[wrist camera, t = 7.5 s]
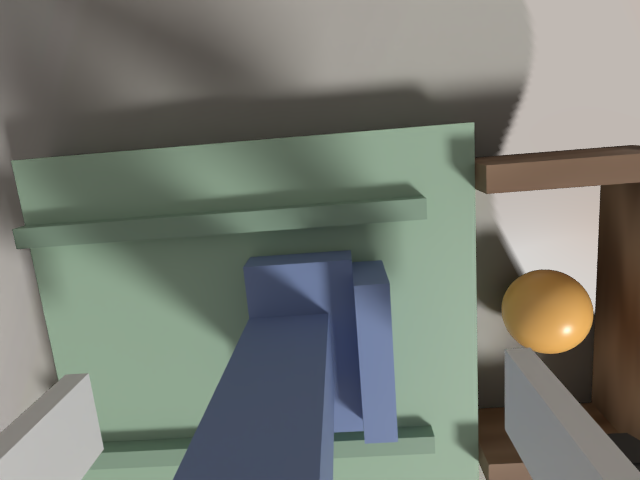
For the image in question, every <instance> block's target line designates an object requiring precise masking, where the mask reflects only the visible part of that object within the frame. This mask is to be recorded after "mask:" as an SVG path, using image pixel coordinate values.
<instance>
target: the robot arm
mask: <svg viewBox="0 0 640 480" xmlns="http://www.w3.org/2000/svg"><path fill="white" fill-rule="evenodd" d="M505 430H506V432H507V434H508V436H509V438H510V439H511V441H512V443H513V445H514V447H515V448H516V450H517V452H518V454H519V456H520V457H521V459H522V461H523V463H524V465H525V467H526V468H527V470H528V472H529V474H530V476H531V477H532V479H533V480H640V440H638V439H637V438H635V437H633V436H632V435H630V434H628V433H611V434H606V433H605V432H604V431H603V430H602V428H601V427H600V426H599V425H598V424H597V423H596V422H595V420H594V419H593V418H592V417H591V416H590V415H589V414H588V412H587V411H586V410H585V409H584V408H583V407H582V406H581V405H580V403H579V402H578V401H577V400H576V399H575V398H574V397H573V395H572V394H571V393H570V392H569V391H568V390H567V389H566V387H565V386H564V385H563V384H562V383H561V382H560V381H559V379H558V378H557V377H556V376H555V375H554V374H553V373H552V372H551V370H550V369H549V368H548V367H547V366H546V365H545V364H544V362H543V361H542V360H541V359H540V358H539V357H538V356H537V354H536V353H535V352H534V351H533V350H532V349H531V348H513V349H505ZM103 450H104V447H103V442H102V437H101V432H100V427H99V422H98V417H97V412H96V407H95V402H94V397H93V392H92V387H91V382H90V377H89V373H84V374H66V375H64V376H63V377H62V378H61V379H60V380H59V381H58V382H57V383H56V384H54V385H53V386H52V387H51V388H50V389H49V390H48V391H47V392H46V393H44V394H43V395H42V396H41V397H40V398H39V399H38V400H37V401H36V402H34V403H33V404H32V405H31V406H30V407H29V408H28V409H27V410H25V411H24V412H23V413H22V414H21V415H20V416H19V417H18V418H17V419H15V420H14V421H13V422H12V423H11V424H10V425H9V426H8V427H7V428H5V429H4V430H3V431H2V432H1V433H0V480H82V478H83V477H84V475H85V474H86V473H87V471H88V470H89V469H90V467H91V466H92V465H93V463H94V462H95V460H96V459H97V458H98V456H99V455H100V454H101V452H102V451H103Z"/></svg>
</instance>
